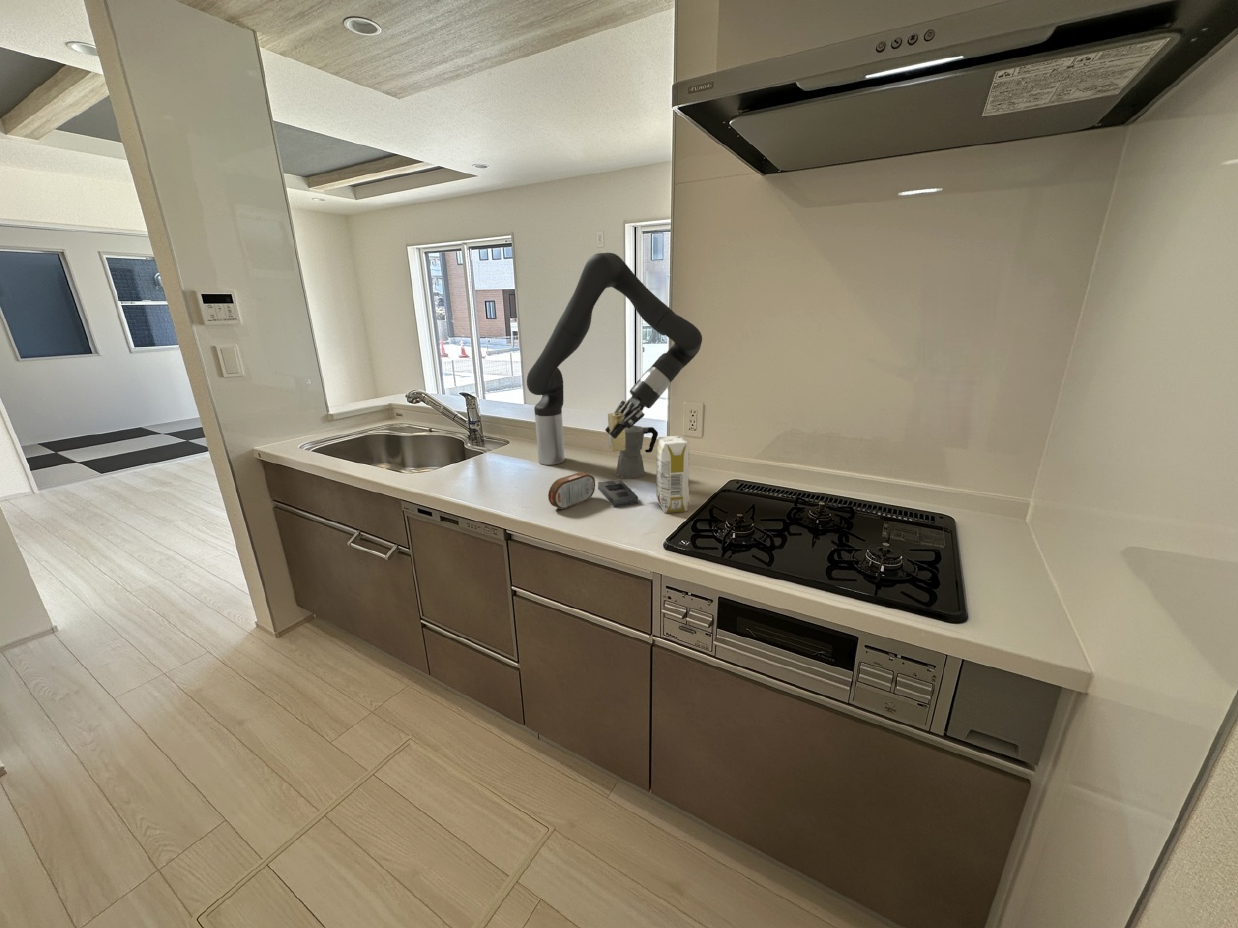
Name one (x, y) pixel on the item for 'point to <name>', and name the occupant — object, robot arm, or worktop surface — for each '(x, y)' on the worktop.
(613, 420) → the wooden post with button
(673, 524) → the worktop surface
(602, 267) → the robot arm
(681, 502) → the juice carton
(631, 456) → the coffeepot
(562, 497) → the tin
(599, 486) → the grey base with slots
